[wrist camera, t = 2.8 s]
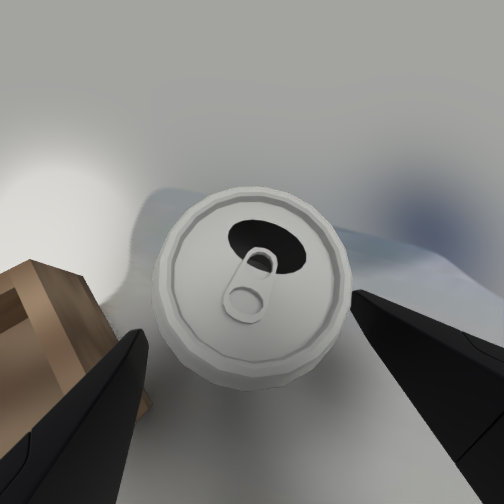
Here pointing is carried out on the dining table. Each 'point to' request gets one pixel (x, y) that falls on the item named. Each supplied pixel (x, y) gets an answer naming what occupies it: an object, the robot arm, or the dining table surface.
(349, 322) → the dining table surface
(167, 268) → the can
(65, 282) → the u rest
